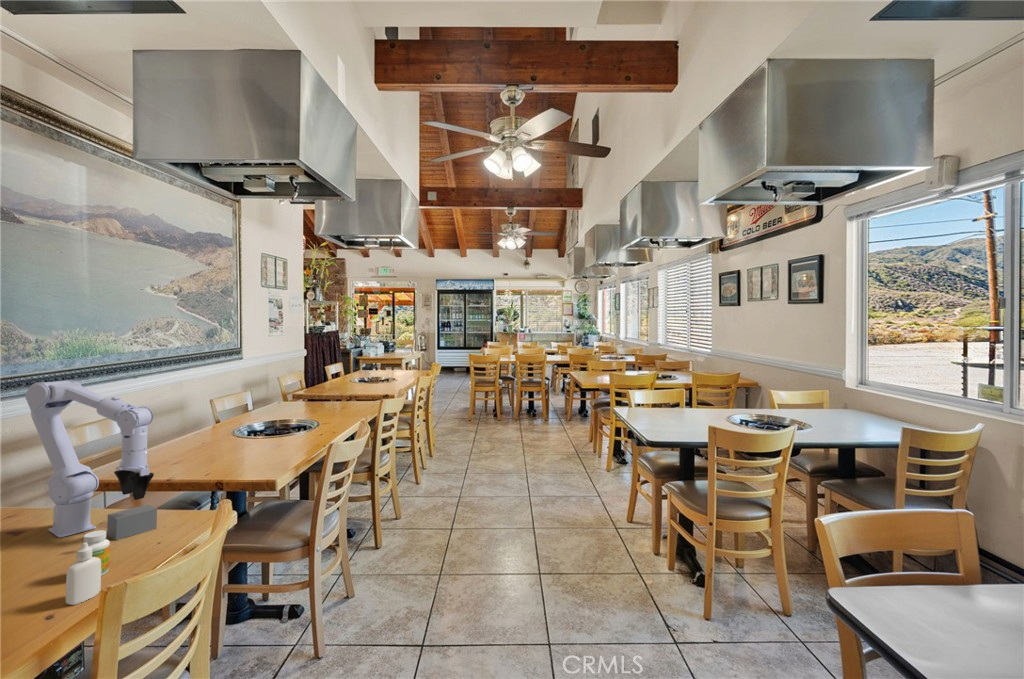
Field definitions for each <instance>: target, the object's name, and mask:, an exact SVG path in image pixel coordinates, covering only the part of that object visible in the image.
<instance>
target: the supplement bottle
mask: <svg viewBox="0 0 1024 679" xmlns="http://www.w3.org/2000/svg"><path fill="white" fill-rule="evenodd" d="M86 542H87V544H88V547H92V557H98V558H100V559H101V577H102V576H104V575H106V574H107V573H108V572H109V571H110V556H111V555H110V553H111V552H110V548H111V541H110V540H108V539H107V530H93V531H89V532H88V533H86V534H84V535H83V543H86ZM82 545H83V544H82ZM82 545H80V547H79V549H81V548H82Z"/></svg>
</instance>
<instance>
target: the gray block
mask: <svg viewBox="0 0 1024 679" xmlns="http://www.w3.org/2000/svg"><path fill="white" fill-rule="evenodd" d="M157 518H158V508H157V507H155V506H152V505H150V504H143V505H140V506H137V507H132V508H128V509H124V510H120V511H117V512H112V513H108V514H107V523H106V524H107V527H106V536H107V535H108V536H107V537H109V536H110V538H111V539H112V538H113V539H112V540H114V539H115V540H114V541H119V539H120V540H123V539H126V537H127V538H129V536H130V537H133V536H136V535H135V534H137V535H140V534H143V533H142V532H144V533H146V532H145V531H147V532H150V531H153V530H152V529H154V530H157V524H158V523H157V522H158V520H157ZM149 530H150V531H149ZM139 533H140V534H139ZM132 535H133V536H132ZM122 538H123V539H122Z"/></svg>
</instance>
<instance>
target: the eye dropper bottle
mask: <svg viewBox="0 0 1024 679" xmlns="http://www.w3.org/2000/svg"><path fill="white" fill-rule="evenodd" d="M65 579H66V582H65V604H66V605H70V606H74V605H78V604H82V603H83V602H86V600H87V601H88V599H89V600H90V598H91V599H93V598H94V597H96V596H97V595H99V594H100V593H99V591H100V592H101V590H102V589H101V588H102V576H101V559H100V558H98V557H92V547H88V544H87V542H86V543H84V542H83V543H82V548H81V549H80V548H79V549H78V550H77V551H76V561H75V562H73V564H70V566H69V567H68V568H67V570H66V578H65ZM98 593H99V594H98ZM81 602H82V603H81Z"/></svg>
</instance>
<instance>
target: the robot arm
mask: <svg viewBox="0 0 1024 679" xmlns="http://www.w3.org/2000/svg"><path fill="white" fill-rule="evenodd" d="M29 386H30V387H29V388H28V389H27V391H26V393H25V395H24V397H25V398H24V399H25V400H26V402H27V405H28V407H29V410H30V416H31V419H32V421H33V424H34V426H35V429H36V431H37V433H38V436H39V438H40V441H41V443H42V445H43V449H44V451H45V452H46V455H47V457H48V460H49V462H50V465H51V466H52V467H51V468H52V469H53V474H52V475H51V476H50V477H49V478H48V480H47V481H46V483H47V485H48V496H49V498H50V499H49V500H51V501H52V502H53V504H55V505H54V507H53V517H52V518H53V519H52V520H53V522H52V523H53V524H52V527H49V528H48V531H49V532H50V533H52V534H53V535H54V536H56V537H58V538H64V537H69V536H72V535H75V534H79V533H83V532H87V531H92V530H94V529H96V528H97V526H95V525H94V524H92V523H91V515H92V514H91V511H92V509H91V507H92V506H91V505H92V497H93V496H94V492H96V491H97V489H98V488H99V484H100V481H99V478H98V476H97V475H96V474H95V473H94V472H93V471H92V468H91V467H90V466H88V465H85V464H82V463H80V461H79V458H78V456H77V454H76V451H75V449H74V447H73V444H72V441H71V439H70V437H69V435H68V431H67V429H66V427H65V425H64V423H63V420H62V418H61V417H62V416H60V415H61V414H62V412H63V411H64V410H66V408H67V407H68V406H69V405H70V404H72V402H76V403H80V404H82V405H85V406H87V407H91V408H93V409H96V413H97V414H98V415H99V416H101V417H103V418H106V419H108V420H111V421H114V422H115V423H117V426H118V427H119V429H120V435H121V461H119V466H116V467H115V471H113V474H114V475H115V476H116V478H117V479H118V483H119V486H120V490H121V492H122V495H123V496H124V495H129V494H132V496H133V497H132V498H133V500H135V501H139V500H141V499H145V496H146V492H147V490H148V486H149V484H150V482H151V481H152V479H153V478H154V477H155V476H154V475H155V473H154V472H150V467H149V465H148V464H149V463H148V441H149V440H148V437H149V436H148V434H149V430H148V429H149V425H150V424H151V423H152V422H153V420H154V413H153V411H152V410H151V409H150V408H148V407H147V406H144V405H143V406H139V407H137V406H136V405H135V404H134V403H128V402H126V401H123V400H121V397H120V396H109V397H106V398H105V397H103V396H102V395H99V394H98V393H96V392H94V391H92V390H90V389H88V388H86V387H84V386H83V385H82V383H81V382H76V381H75V380H72V379H65V380H58V381H57V380H56V381H55V380H54V381H47V382H46V381H45V382H41V381H38V382H34V383H32V384H31V385H29Z"/></svg>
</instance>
